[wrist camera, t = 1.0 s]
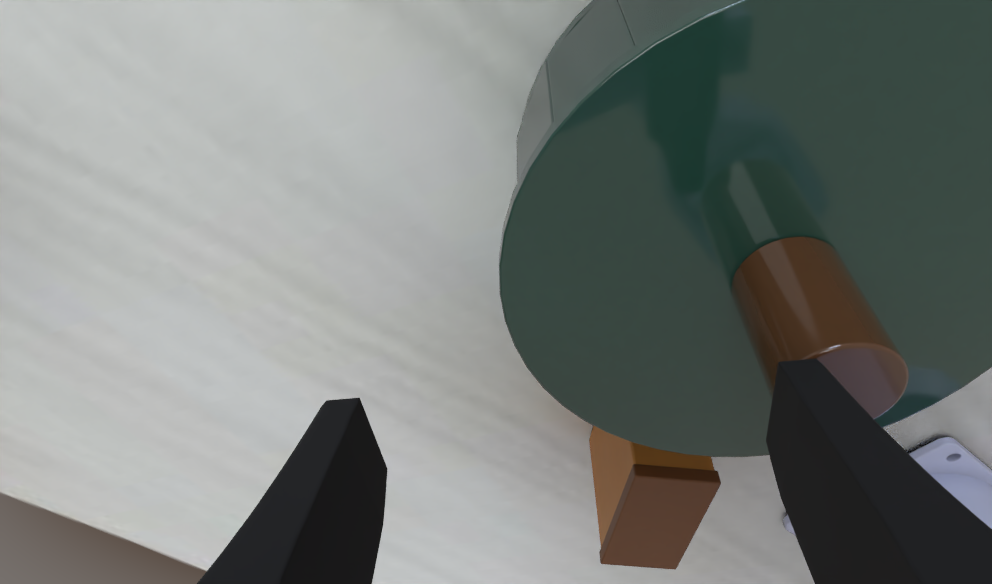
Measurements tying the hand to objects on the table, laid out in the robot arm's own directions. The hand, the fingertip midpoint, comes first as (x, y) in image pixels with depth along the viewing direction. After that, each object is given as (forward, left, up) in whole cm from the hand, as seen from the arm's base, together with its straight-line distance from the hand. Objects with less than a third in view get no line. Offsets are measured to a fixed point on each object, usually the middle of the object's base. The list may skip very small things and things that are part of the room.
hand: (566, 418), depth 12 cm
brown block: (-10, +6, -10) cm, 15 cm away
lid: (-4, -3, -5) cm, 7 cm away
